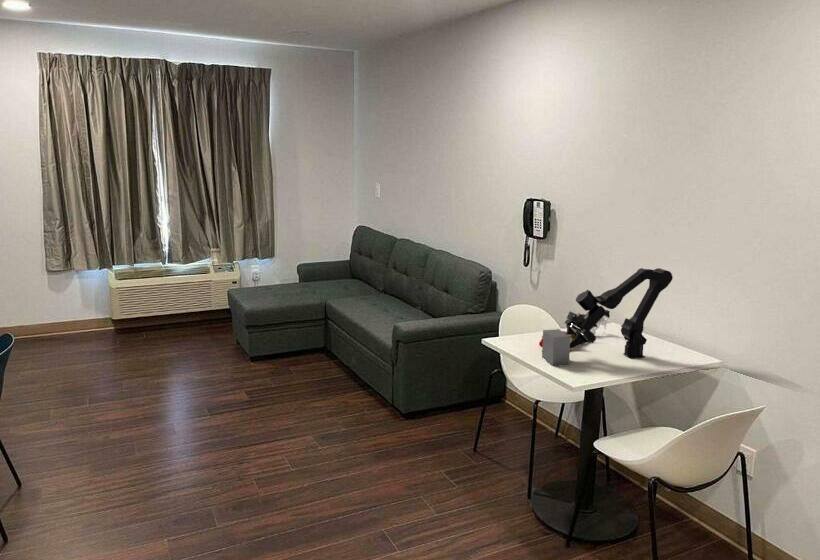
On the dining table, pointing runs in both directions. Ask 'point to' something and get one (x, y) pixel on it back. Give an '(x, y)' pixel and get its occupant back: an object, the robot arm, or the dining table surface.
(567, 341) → the housing
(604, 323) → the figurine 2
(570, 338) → the gold cylindrical piece
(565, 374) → the dining table surface
